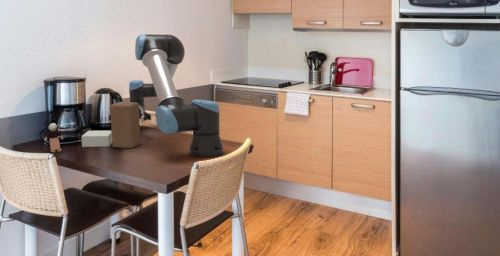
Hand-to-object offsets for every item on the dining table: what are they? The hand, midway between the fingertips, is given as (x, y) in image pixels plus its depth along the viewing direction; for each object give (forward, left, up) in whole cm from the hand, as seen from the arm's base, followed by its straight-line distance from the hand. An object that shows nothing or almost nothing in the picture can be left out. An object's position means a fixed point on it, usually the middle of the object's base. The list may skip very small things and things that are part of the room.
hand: (127, 120), depth 212 cm
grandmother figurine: (-14, +30, -11) cm, 34 cm away
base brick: (-1, +14, -11) cm, 17 cm away
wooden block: (-6, 0, -11) cm, 12 cm away
